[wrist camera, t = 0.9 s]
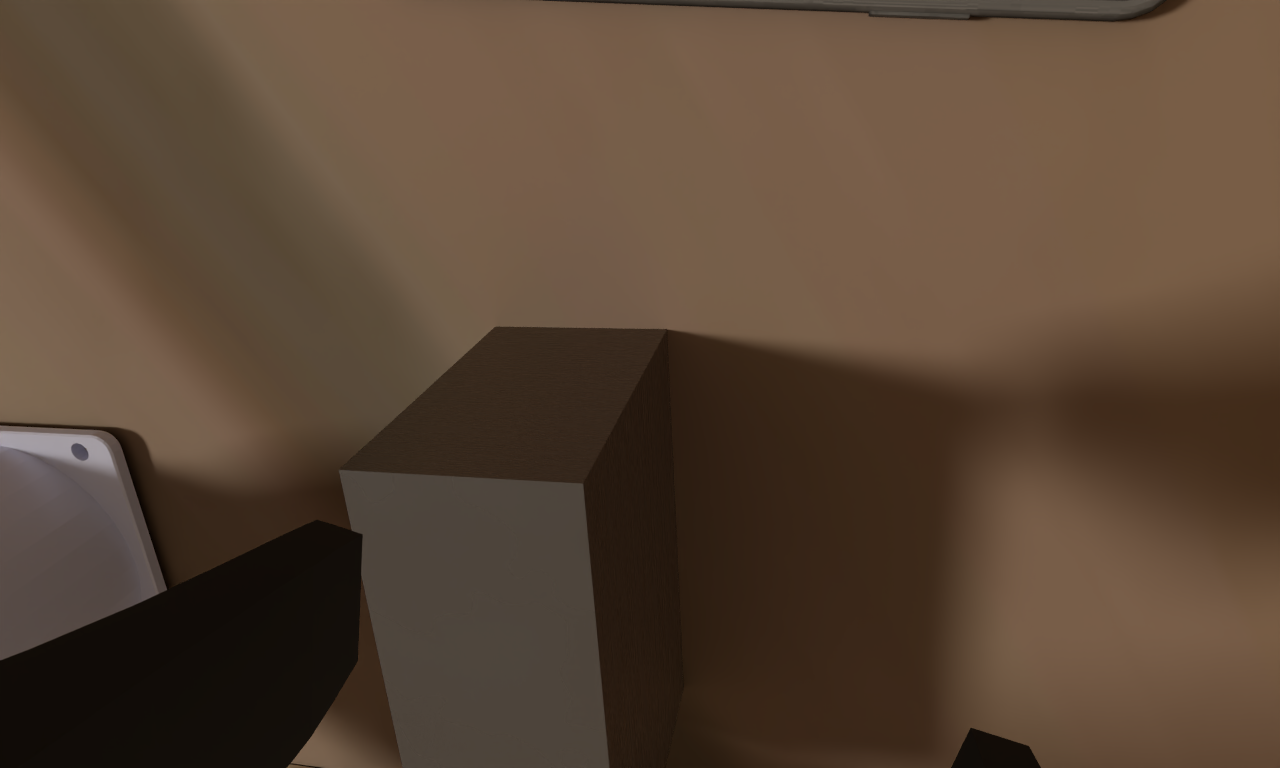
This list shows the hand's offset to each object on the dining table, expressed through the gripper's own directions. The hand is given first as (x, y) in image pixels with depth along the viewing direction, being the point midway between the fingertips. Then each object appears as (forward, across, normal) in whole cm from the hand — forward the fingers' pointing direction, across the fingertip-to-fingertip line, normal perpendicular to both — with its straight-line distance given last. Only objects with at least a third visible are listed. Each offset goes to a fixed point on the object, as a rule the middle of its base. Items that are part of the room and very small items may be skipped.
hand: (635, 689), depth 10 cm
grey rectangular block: (+10, +3, +5) cm, 11 cm away
